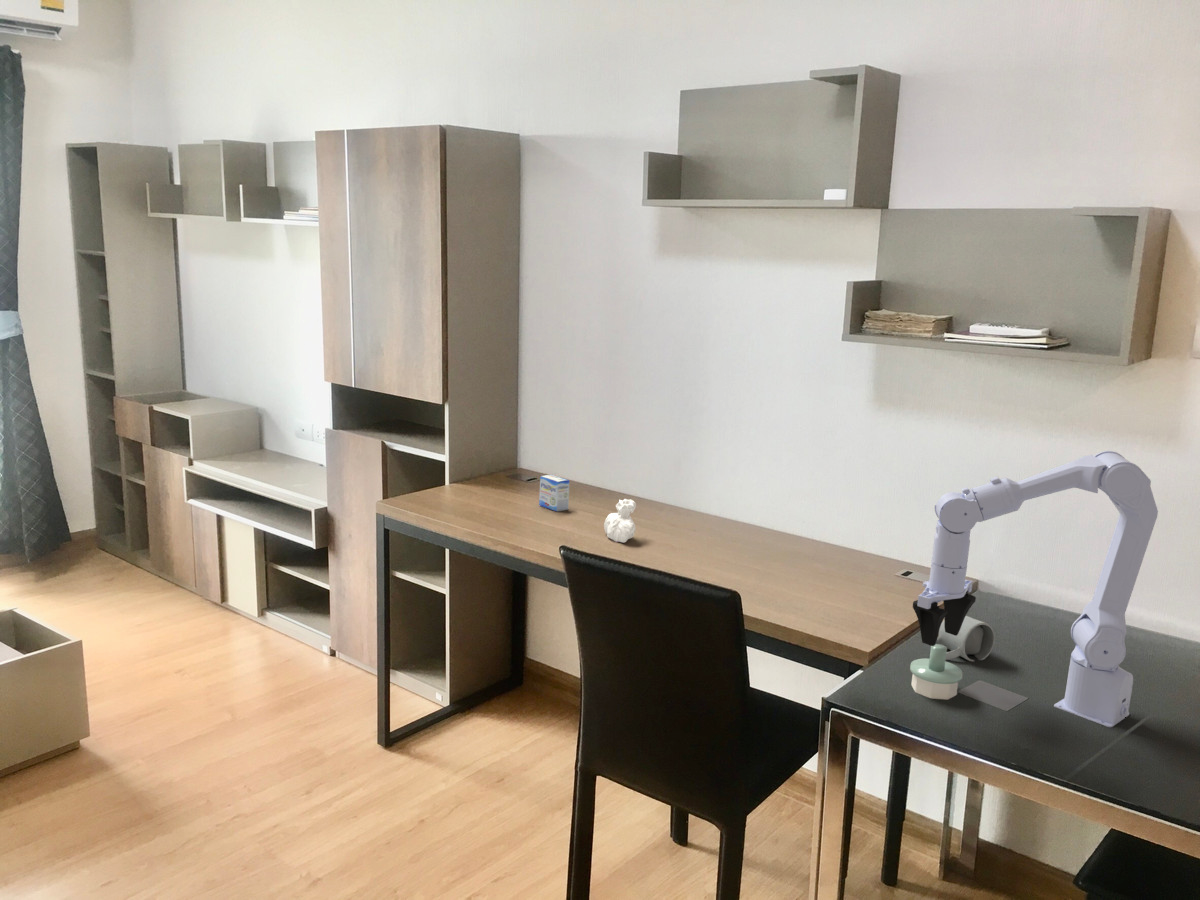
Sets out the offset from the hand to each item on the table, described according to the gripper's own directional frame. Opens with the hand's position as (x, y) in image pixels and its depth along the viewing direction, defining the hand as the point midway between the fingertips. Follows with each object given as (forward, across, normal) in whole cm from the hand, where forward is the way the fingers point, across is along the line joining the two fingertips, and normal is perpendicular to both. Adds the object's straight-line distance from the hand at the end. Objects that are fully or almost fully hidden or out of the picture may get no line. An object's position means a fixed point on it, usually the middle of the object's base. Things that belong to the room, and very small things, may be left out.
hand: (940, 638), depth 172 cm
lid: (+6, 0, 0) cm, 6 cm away
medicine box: (+10, -20, -129) cm, 131 cm away
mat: (+10, -6, +8) cm, 14 cm away
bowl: (+10, 0, 0) cm, 10 cm away
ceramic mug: (+10, -18, -6) cm, 22 cm away
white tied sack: (+10, -16, -97) cm, 99 cm away
